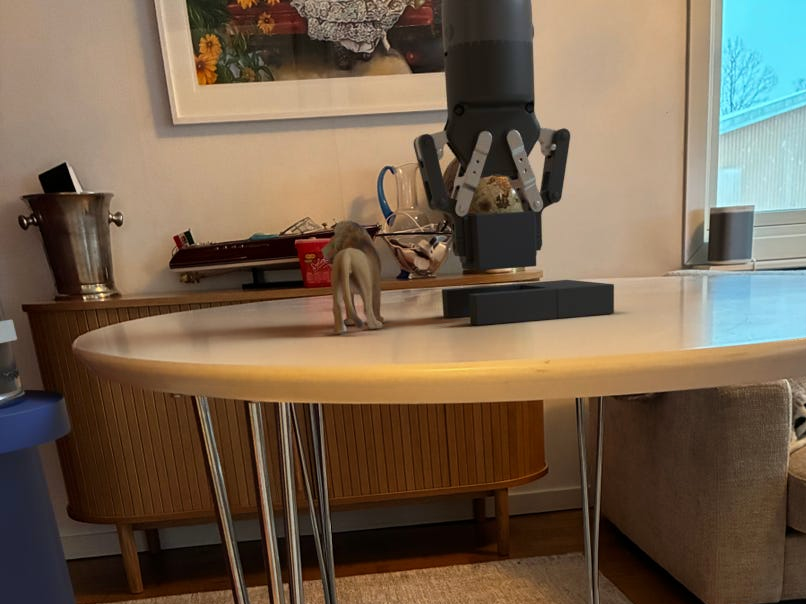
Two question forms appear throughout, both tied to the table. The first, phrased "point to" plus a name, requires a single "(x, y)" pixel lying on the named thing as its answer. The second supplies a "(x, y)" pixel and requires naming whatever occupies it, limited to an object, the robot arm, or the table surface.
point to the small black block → (502, 241)
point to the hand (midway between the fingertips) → (497, 259)
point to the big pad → (528, 301)
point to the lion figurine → (354, 275)
